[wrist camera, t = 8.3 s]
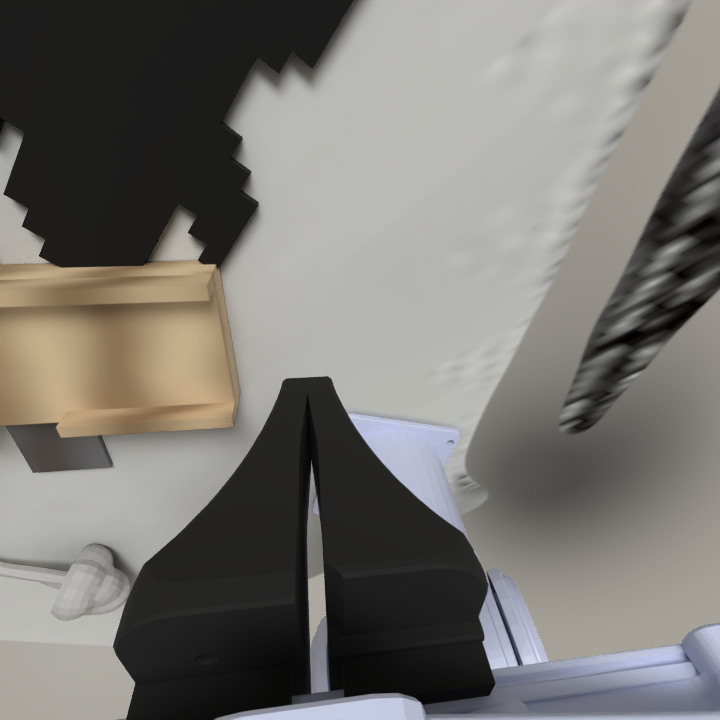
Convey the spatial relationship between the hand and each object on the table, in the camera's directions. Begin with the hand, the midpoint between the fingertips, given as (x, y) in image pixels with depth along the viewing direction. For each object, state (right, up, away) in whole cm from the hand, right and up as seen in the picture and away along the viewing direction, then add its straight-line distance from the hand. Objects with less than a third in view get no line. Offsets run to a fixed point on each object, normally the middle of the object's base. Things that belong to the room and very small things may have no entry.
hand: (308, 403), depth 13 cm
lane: (-16, 0, +10) cm, 19 cm away
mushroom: (-21, -13, +19) cm, 31 cm away
